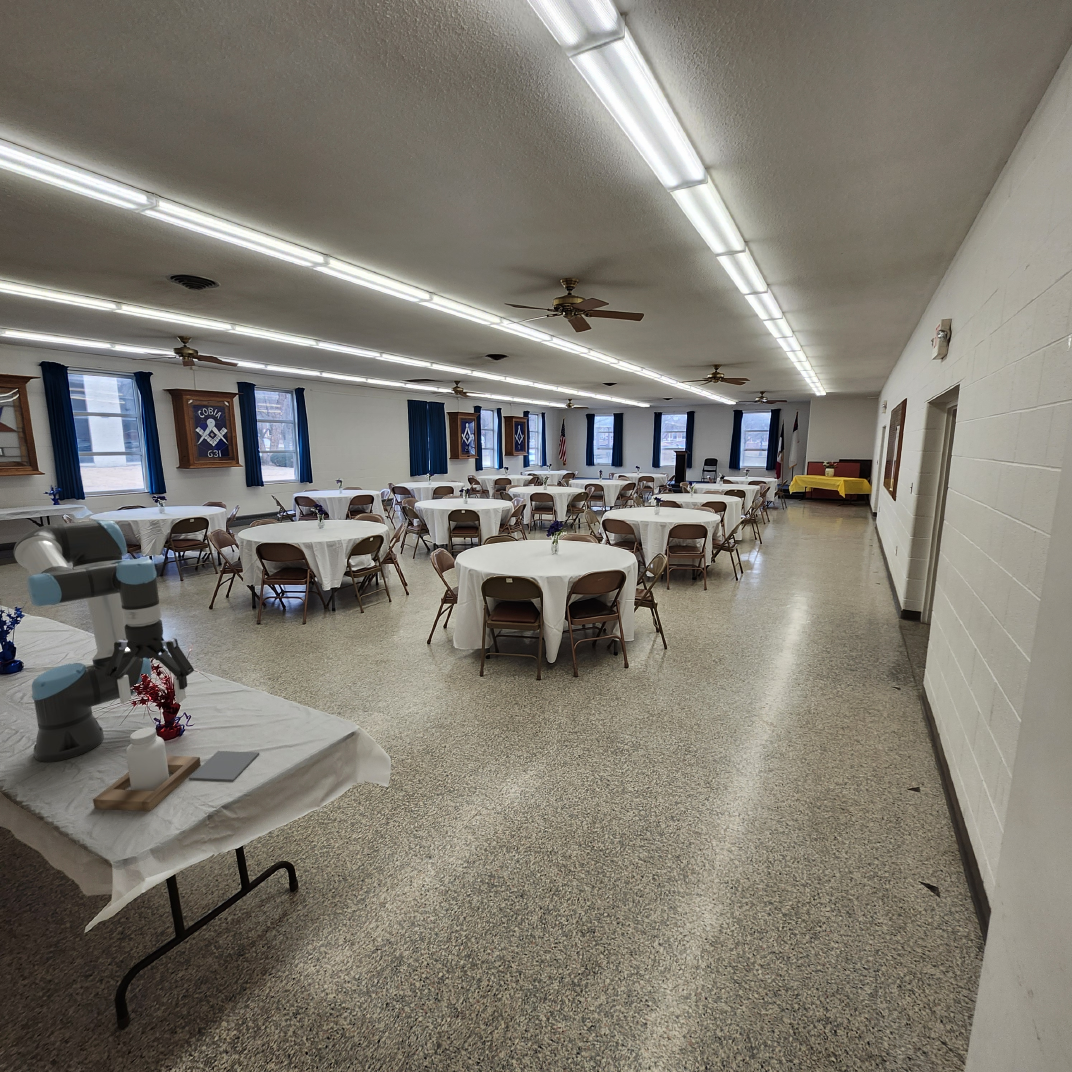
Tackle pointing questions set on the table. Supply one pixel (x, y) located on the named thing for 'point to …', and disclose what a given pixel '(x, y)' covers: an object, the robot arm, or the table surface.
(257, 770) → the table surface
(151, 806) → the pocket board
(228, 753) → the mat
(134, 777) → the pill bottle
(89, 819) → the table surface
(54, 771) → the table surface
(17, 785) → the table surface
